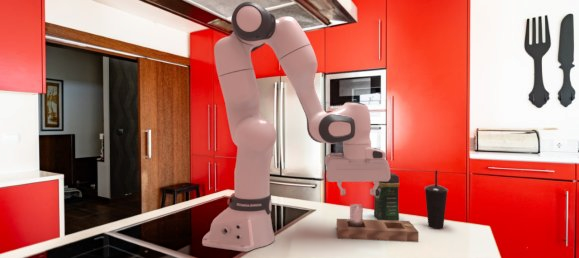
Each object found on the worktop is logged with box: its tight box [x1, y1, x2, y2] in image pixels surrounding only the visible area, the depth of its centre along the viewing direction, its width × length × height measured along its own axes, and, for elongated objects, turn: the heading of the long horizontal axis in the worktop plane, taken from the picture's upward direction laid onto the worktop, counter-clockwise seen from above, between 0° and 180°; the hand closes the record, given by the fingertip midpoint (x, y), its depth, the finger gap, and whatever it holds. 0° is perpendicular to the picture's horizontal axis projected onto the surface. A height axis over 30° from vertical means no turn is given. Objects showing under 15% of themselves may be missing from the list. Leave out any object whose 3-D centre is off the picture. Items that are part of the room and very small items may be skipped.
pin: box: [349, 203, 364, 227], centre depth 99 cm, size 4×4×9 cm
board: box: [336, 218, 419, 243], centre depth 98 cm, size 24×10×4 cm, turn 84°
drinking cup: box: [424, 170, 449, 230], centre depth 107 cm, size 8×8×20 cm
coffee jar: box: [373, 172, 400, 221], centre depth 114 cm, size 10×8×19 cm
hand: (357, 194), depth 98 cm, fingers open, 8 cm apart
